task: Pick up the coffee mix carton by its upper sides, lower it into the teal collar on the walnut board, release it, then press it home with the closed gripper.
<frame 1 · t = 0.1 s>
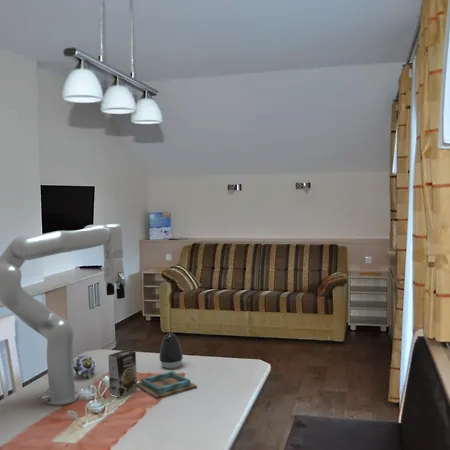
hand: (115, 296, 220), 37 cm above the table, tool pointing down, fingers open, 9 cm apart
passion flower: (83, 376, 235), on the table
dark grey speaker: (171, 367, 243), on the table
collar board: (165, 387, 219), on the table
coffee box: (123, 393, 213), on the table
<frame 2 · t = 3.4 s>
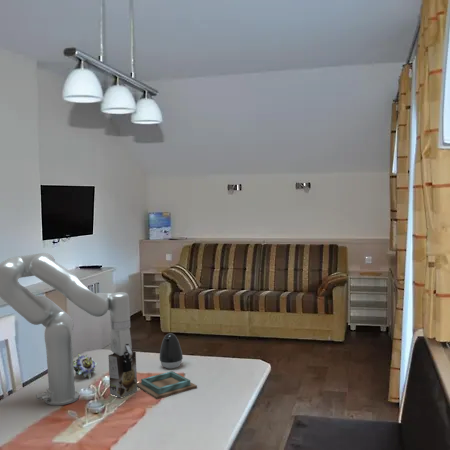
hand: (122, 368, 213), 10 cm above the table, tool pointing down, fingers closed on coffee box, 7 cm apart
coffee box: (124, 393, 213), on the table, touching gripper
everything else where it was.
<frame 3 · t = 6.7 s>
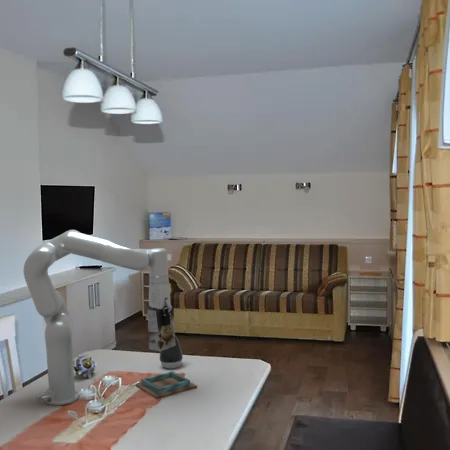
hand: (161, 323, 216), 26 cm above the table, tool pointing down, fingers closed on coffee box, 7 cm apart
coffee box: (162, 348, 217), point 16 cm above the table, touching gripper
everything else where it was.
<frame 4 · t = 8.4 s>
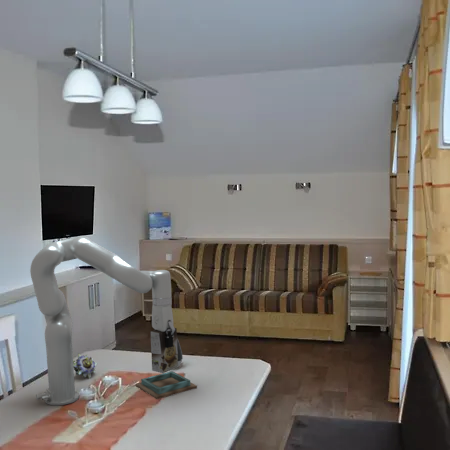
hand: (164, 344, 217), 17 cm above the table, tool pointing down, fingers closed on coffee box, 7 cm apart
coffee box: (165, 369, 218), point 7 cm above the table, touching gripper
everything else where it was.
when the fingers open (12 cm above the table, at t = 10.0 s): coffee box drops 1 cm, resting on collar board.
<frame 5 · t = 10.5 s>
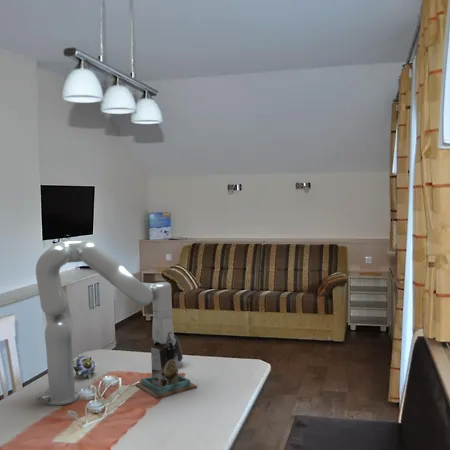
hand: (164, 355, 218), 13 cm above the table, tool pointing down, fingers open, 9 cm apart
coffee box: (165, 385, 218), point 1 cm above the table, touching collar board
everything else where it was.
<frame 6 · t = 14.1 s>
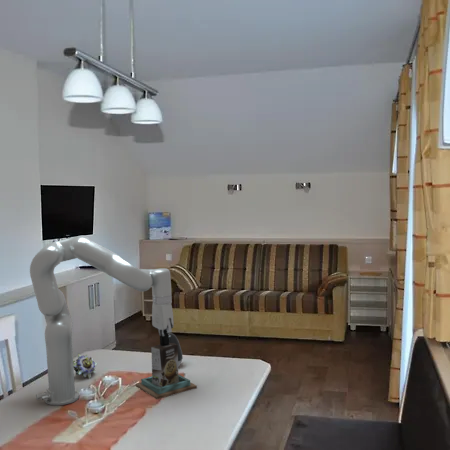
hand: (164, 345, 217), 17 cm above the table, tool pointing down, fingers closed
coffee box: (165, 385, 218), point 1 cm above the table, touching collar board, gripper
everything else where it was.
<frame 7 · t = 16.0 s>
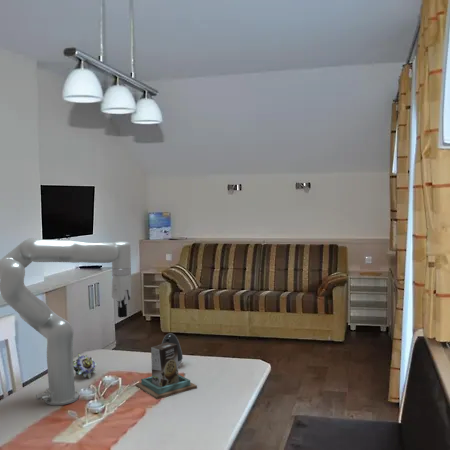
hand: (122, 316, 222), 28 cm above the table, tool pointing down, fingers closed
coffee box: (165, 385, 218), point 1 cm above the table, touching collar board
everything else where it was.
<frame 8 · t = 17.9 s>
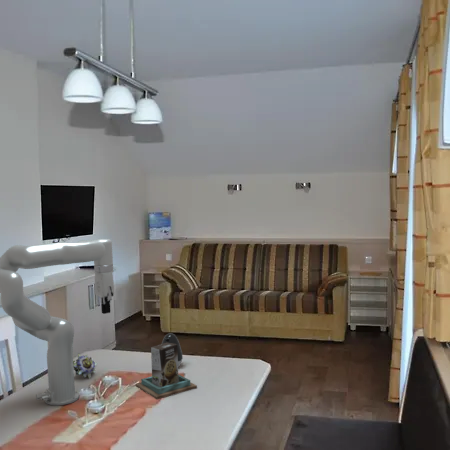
hand: (106, 312, 225), 29 cm above the table, tool pointing down, fingers closed
nothing on the table moved.
at the end: coffee box 0.4 cm from the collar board (horizontally); coffee box point 0.8 cm above the table; coffee box tilted 0° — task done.
